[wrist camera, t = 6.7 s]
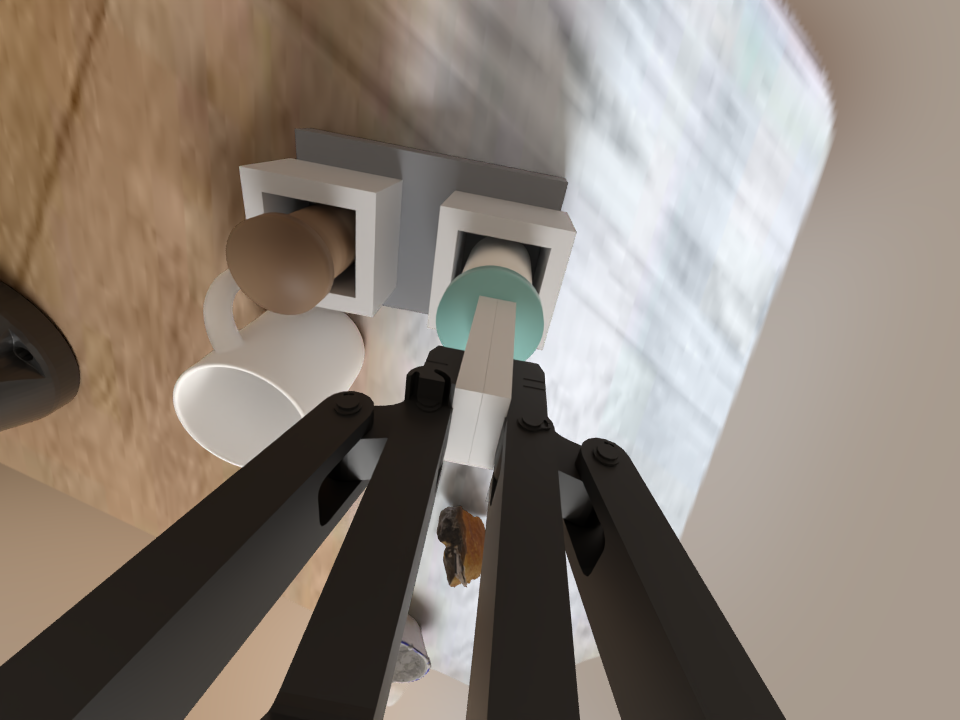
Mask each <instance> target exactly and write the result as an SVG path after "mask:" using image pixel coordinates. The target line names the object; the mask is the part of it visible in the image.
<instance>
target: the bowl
mask: <svg viewBox="0 0 960 720" xmlns="http://www.w3.org/2000/svg"><path fill="white" fill-rule="evenodd" d="M430 667H431V663H430V660H429V657H428V655H427V652H426V649H425V645H424V642H423V637H422V634H421V628H420V627H419V625H418V623H417V622H416V620H415V619H414V618H413V617H411V616H410V615H407V620H406V624H405V628H404V632H403V637H402V641H401V645H400V649H399V654H398V658H397V662H396V666H395V671H394V675H393V679H392V683H396V682H398V683H407V682H412V681H415V680H419V679H420V678H422V677H424V675H426V674H427V672H428V671H429V669H430Z"/></svg>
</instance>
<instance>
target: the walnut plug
mask: <svg viewBox="0 0 960 720" xmlns="http://www.w3.org/2000/svg"><path fill="white" fill-rule="evenodd" d="M226 259H227V264H228V267H229V270H230V273H231V275H232V277H233V279H234V280H235V282H236V284H237V285H238V286H239V288H240V289H241V290H242V291H243V292H244V293H245V295H246V296H248V297H249V298H250V299H251V300H252V301H253V302H255V303H256V304H258V305H259V306H261V307H263V308H265V309H267V310H269V311H271V312H274V313H278V314H283V315H298V314H302V313H305V312H307V311H309V310H311V309H312V308H314V307H315V306H316V305H317V304H318V303H319V302H320V301H322V300H323V299H324V298H325V297H326V296H327V294H328V293H329V292H330V290H331V288H332V285H333V281H334V279H335V278H336V277H337V276H338V275H339V274H341V273H342V272H343V271H344V270H345V269H347V268H348V267H349V266H350V265H351V264H353V263H354V262H355V261H356V210H352V209H347V208H342V207H337V206H332V205H327V204H322V203H315V204H313V205H310V206H307V207H305V208H302V209H300V210H297V211H295V212H292V213H290V214H284V213H278V212H269V213H263V214H260V215H258V216H255V217H252V218H249V219H246V220H244V221H242V222H240V223H239V224H238V225H237V226H236V227H235V228H234V229H233V230H232V232H231V233H230V235H229V237H228V240H227V245H226Z"/></svg>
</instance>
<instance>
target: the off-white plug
mask: <svg viewBox="0 0 960 720" xmlns="http://www.w3.org/2000/svg"><path fill="white" fill-rule="evenodd" d="M479 296H485V297H490V298H495V299H500V300H505V301H510V302H515V303H516V319H515V337H514V356H513V359H515V360H520V361H525V360H526V359H528V358H529V357H530V356H531V355H532V354H533V353H534V351H535V350H536V349H537V347H538V345H539V343H540V341H541V338H542V335H543V330H544V317H543V308H542V303H541V300H540V297H539V295H538V293H537V291H536V289H535V288H534V287H533V285H532V271H531V260H530V256H529V253H528V251H527V249H526V248H525V247H524V245H523V244H522V243H521V242H516V241H511V240H506V239H500V238H495V237H490V236H488V237H485V238H483V239H482V240H480V241H479V242H478V243H477V244H476V245H475V246H474V247H473V249H472V250H471V252H470V254H469V257H468V259H467V262H466V264H465V267H464V269H463V272H462V274H460V275H459V276H457V277H456V278H455V279H454V280H453V281H452V282H451V283H450V284H449V286H448V287H447V288H446V290H445V292H444V294H443V296H442V298H441V301H440V303H439V306H438V308H437V313H436V329H437V333H438V336H439V339H440V341H441V343H442V345H443V346H444V347H449V348H454V349H459V350H464V351H465V348H466V345H467V341H468V337H469V333H470V330H471V326H472V322H473V318H474V315H475V311H476V307H477V303H478V300H479Z"/></svg>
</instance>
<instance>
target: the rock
mask: <svg viewBox="0 0 960 720" xmlns="http://www.w3.org/2000/svg"><path fill="white" fill-rule="evenodd" d="M437 535H438V539H439V541H440V542H442V543H443V544H444V545H445V546H446V548H445V551H444V556H443V562H444V566H445V570H446V574H447V580H448V583H449V585H450V586H451V587H455V586H457V585H458V584H461V583H462V584H463V585H464V587H467V586H466V585H467V583H470V581H471V580H472V579H474V580H475V579H476V578H478V577H479V576H480V574H481V569H482V559H483V550H484V540H485V527H484V524H483V523H482V520H481V519H480V518H479V517H477V516H476V517H473V516H472V514H470V513H468V512H467V511H465V510H463V509H462V507H461V506H456V507H447V508H445V509H444V510H442V511H441V513H440V516H439V523H438V527H437Z"/></svg>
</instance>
